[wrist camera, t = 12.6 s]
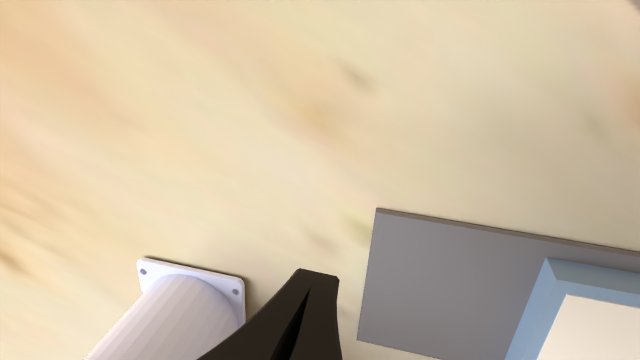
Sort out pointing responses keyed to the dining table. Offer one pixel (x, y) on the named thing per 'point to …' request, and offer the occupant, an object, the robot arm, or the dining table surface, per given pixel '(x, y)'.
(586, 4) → the dining table surface
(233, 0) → the dining table surface
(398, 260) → the mat
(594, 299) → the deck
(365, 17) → the dining table surface
